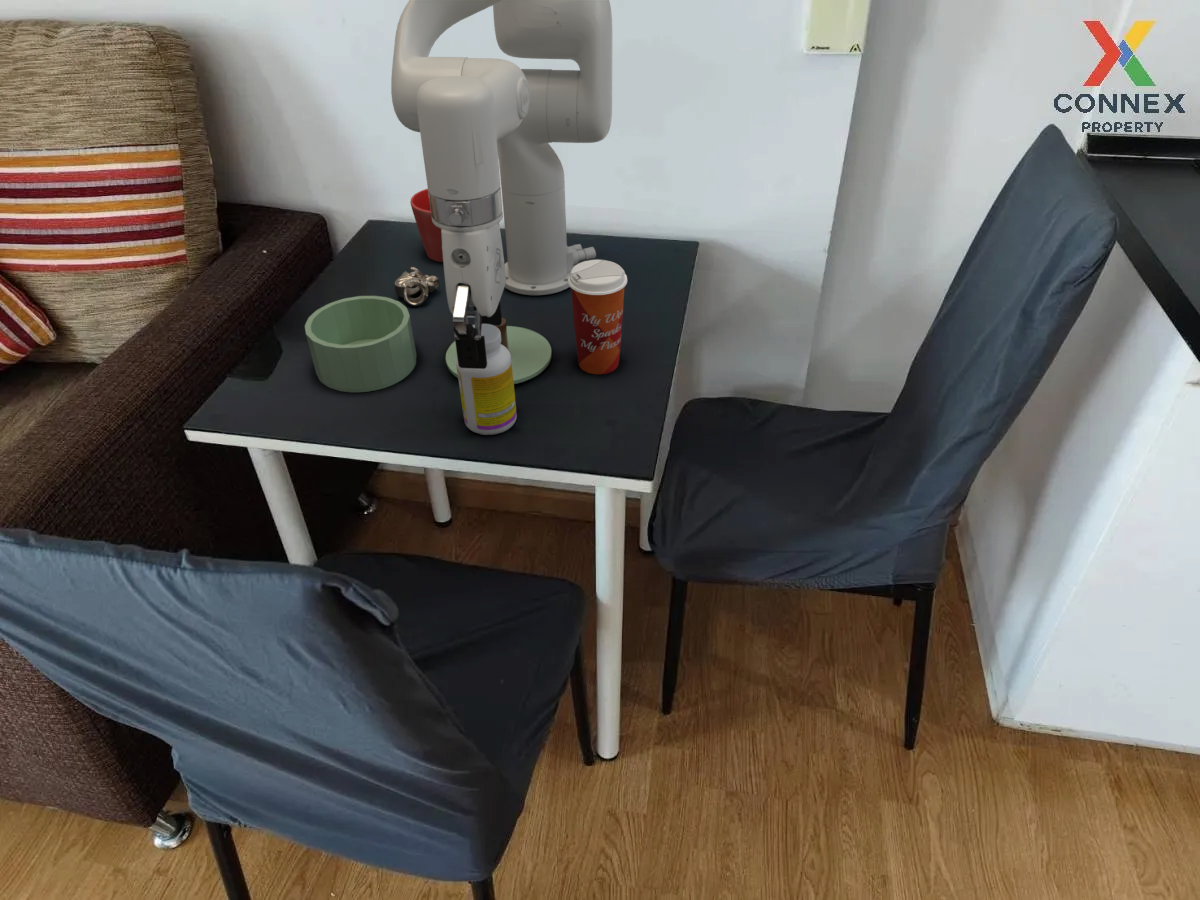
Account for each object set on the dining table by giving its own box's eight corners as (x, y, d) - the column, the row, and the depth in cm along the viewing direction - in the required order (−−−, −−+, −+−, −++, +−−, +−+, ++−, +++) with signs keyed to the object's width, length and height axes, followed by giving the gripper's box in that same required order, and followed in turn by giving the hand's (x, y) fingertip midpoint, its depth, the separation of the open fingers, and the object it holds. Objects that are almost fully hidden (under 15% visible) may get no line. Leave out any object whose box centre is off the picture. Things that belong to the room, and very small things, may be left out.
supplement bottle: (528, 419, 109) (521, 331, 101) (490, 444, 105) (479, 355, 97) (491, 399, 112) (481, 313, 104) (453, 423, 109) (440, 335, 100)
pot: (368, 329, 127) (359, 286, 122) (436, 357, 121) (430, 313, 116) (295, 372, 118) (283, 327, 114) (364, 404, 112) (354, 358, 108)
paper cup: (586, 384, 115) (584, 290, 106) (561, 357, 120) (557, 265, 111) (637, 369, 118) (639, 276, 109) (611, 343, 123) (610, 252, 114)
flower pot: (492, 243, 149) (487, 189, 142) (464, 271, 141) (457, 215, 134) (437, 235, 151) (430, 181, 145) (406, 262, 143) (397, 206, 137)
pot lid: (493, 323, 128) (489, 285, 124) (572, 352, 121) (571, 313, 117) (424, 368, 118) (418, 329, 114) (506, 402, 112) (502, 362, 108)
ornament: (445, 303, 132) (442, 282, 130) (400, 311, 131) (397, 289, 128) (435, 280, 138) (432, 259, 136) (393, 287, 137) (389, 266, 134)
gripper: (486, 239, 84) (500, 386, 94) (514, 175, 97) (523, 310, 108) (410, 237, 84) (432, 384, 95) (449, 174, 98) (464, 308, 108)
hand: (481, 344), depth 101 cm, fingers open, 9 cm apart
